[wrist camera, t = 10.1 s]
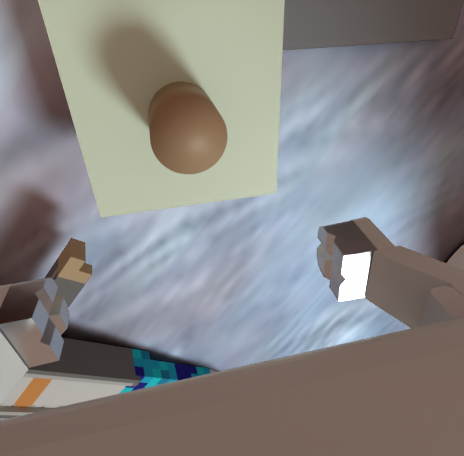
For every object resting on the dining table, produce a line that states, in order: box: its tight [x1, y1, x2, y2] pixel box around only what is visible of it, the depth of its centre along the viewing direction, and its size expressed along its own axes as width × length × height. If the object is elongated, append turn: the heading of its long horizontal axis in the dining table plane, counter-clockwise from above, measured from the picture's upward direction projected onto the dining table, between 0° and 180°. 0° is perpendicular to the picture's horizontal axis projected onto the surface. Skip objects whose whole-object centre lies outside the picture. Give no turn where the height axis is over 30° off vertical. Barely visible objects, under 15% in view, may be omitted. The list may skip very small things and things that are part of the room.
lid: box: [38, 0, 285, 217], centre depth 16 cm, size 10×10×4 cm
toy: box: [0, 238, 219, 418], centre depth 30 cm, size 26×8×30 cm
